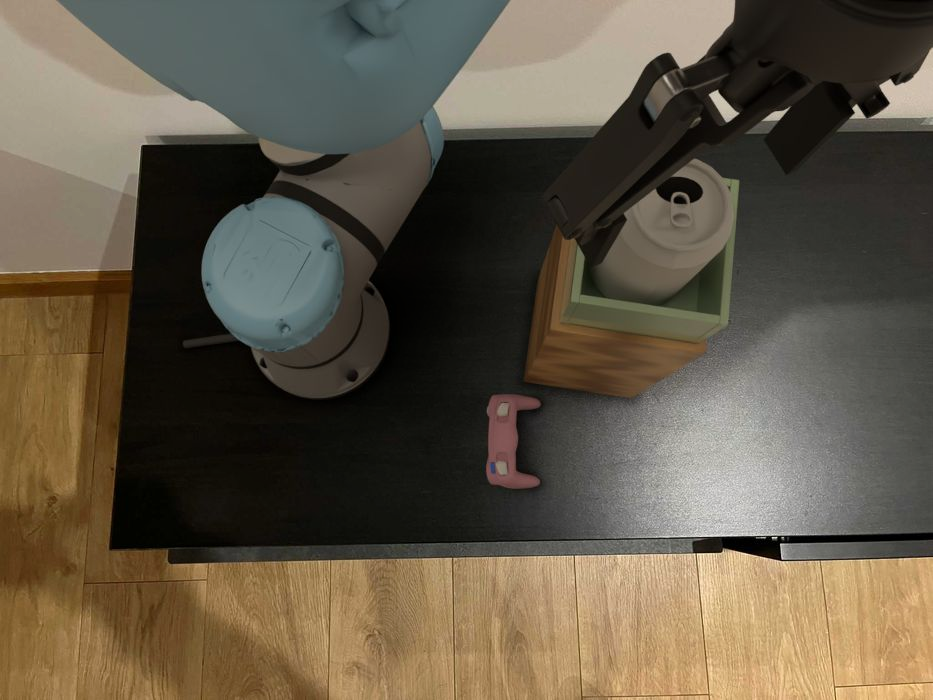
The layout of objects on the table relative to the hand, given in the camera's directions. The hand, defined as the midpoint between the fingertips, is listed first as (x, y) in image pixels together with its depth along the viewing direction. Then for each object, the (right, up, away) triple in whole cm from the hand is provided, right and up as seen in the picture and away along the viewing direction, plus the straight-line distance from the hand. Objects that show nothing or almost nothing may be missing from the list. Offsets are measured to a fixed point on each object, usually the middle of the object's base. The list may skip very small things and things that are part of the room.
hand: (684, 200), depth 42 cm
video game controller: (-8, -19, +33) cm, 39 cm away
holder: (0, -3, +12) cm, 12 cm away
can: (0, -3, +12) cm, 12 cm away
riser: (0, -8, +36) cm, 36 cm away
